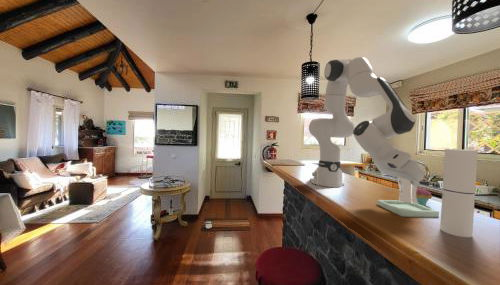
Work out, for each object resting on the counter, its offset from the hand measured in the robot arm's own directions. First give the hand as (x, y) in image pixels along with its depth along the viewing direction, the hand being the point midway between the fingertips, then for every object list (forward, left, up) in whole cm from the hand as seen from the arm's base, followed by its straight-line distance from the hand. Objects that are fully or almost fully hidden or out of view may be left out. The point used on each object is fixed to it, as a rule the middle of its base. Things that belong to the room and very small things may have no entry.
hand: (409, 183), depth 87 cm
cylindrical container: (+20, -1, -11) cm, 23 cm away
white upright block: (+1, -1, -7) cm, 8 cm away
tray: (0, -1, -11) cm, 11 cm away
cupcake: (-9, +12, -11) cm, 19 cm away
